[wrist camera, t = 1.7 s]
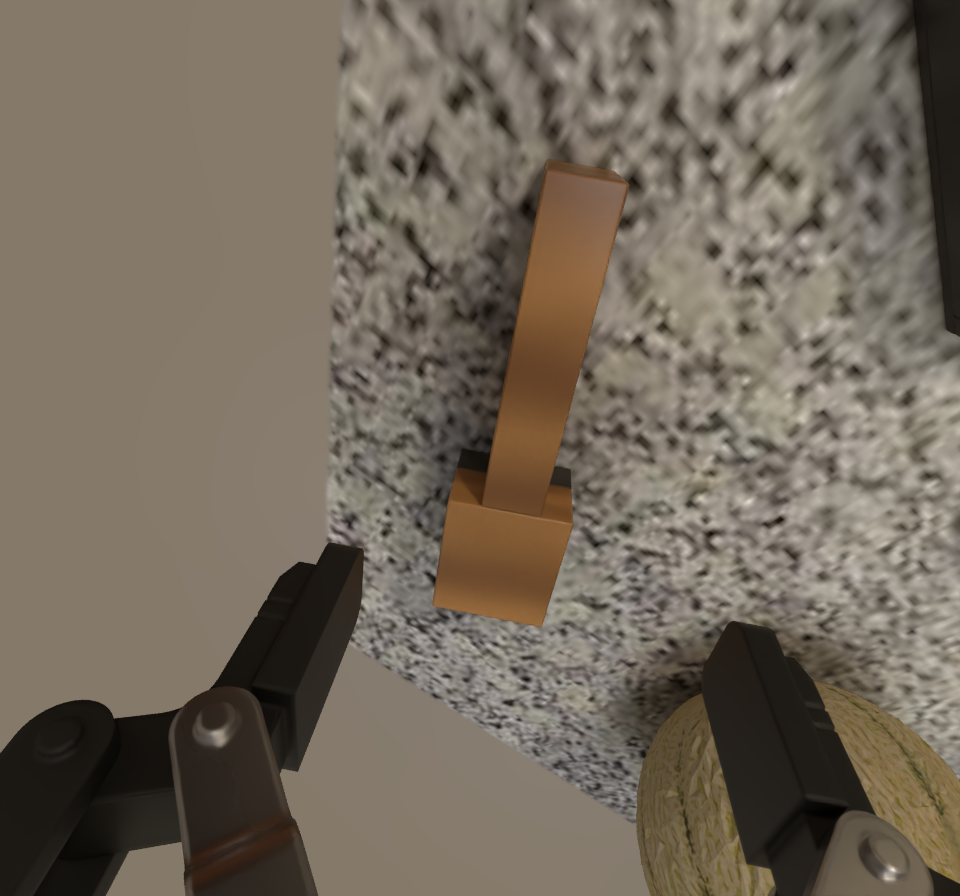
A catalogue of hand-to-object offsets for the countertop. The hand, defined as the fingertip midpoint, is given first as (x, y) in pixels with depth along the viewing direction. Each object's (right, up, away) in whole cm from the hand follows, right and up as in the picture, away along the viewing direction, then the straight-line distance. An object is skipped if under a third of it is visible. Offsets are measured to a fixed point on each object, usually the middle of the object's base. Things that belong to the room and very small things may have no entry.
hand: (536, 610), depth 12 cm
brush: (+1, +6, +11) cm, 13 cm away
